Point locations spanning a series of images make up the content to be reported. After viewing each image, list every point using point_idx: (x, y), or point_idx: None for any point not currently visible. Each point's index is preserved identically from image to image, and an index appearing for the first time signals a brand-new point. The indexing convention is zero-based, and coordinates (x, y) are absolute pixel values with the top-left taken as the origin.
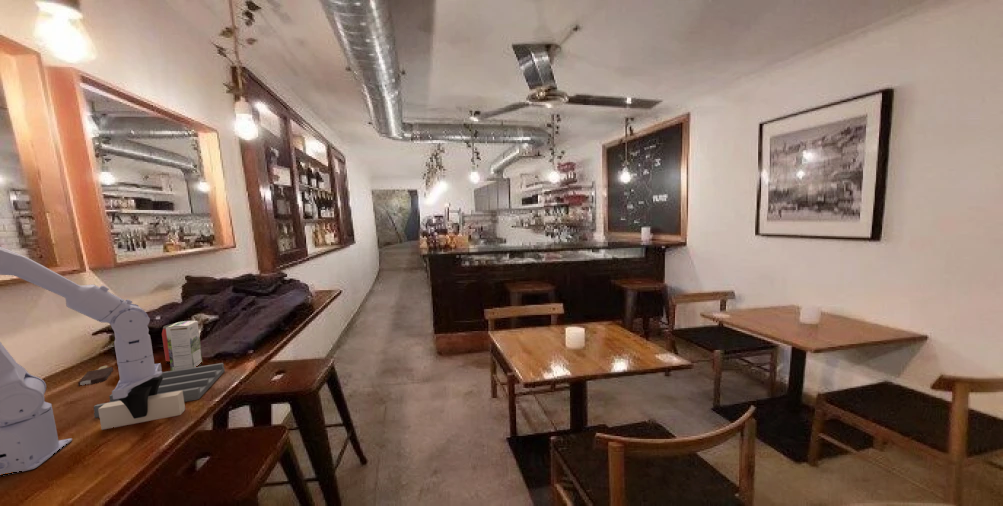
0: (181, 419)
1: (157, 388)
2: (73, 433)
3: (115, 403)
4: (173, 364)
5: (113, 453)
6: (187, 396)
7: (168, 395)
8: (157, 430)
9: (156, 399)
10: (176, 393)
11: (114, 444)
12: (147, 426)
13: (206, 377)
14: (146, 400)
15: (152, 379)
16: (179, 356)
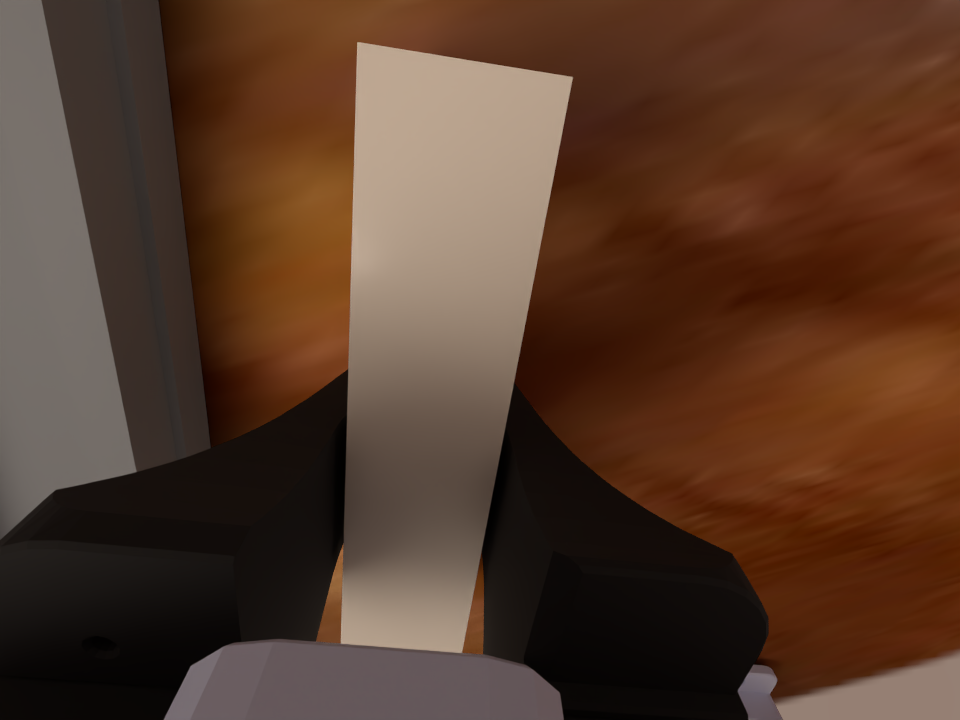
0: (672, 40)
1: (246, 452)
2: None
3: None
4: None
5: (928, 402)
6: (127, 102)
7: (482, 236)
8: (768, 216)
9: (516, 363)
10: (469, 120)
11: (771, 440)
12: (607, 322)
13: None
14: (545, 461)
15: (184, 656)
16: None
